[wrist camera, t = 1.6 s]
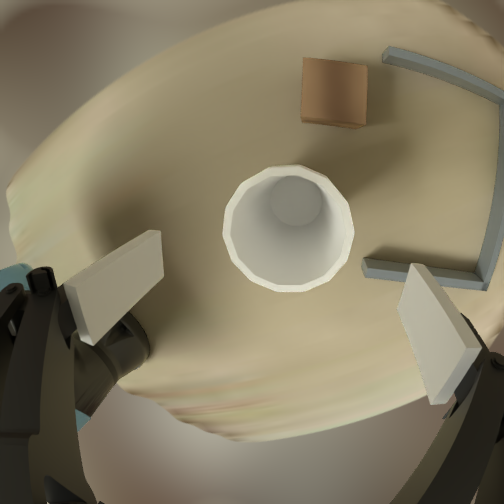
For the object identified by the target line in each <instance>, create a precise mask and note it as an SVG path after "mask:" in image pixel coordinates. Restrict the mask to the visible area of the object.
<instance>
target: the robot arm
mask: <svg viewBox="0 0 504 504" xmlns="http://www.w3.org/2000/svg"><path fill="white" fill-rule="evenodd" d="M163 277H164V268H163V256H162V243H161V231H157V230H148V231H146V232H144V233H142V234H141V235H139V236H137V237H136V238H134V239H132V240H130V241H129V242H127V243H125V244H124V245H122V246H120V247H119V248H117V249H116V250H114V251H112V252H111V253H109V254H107V255H106V256H104V257H103V258H101V259H99V260H98V261H96V262H95V263H93V264H92V265H90V266H89V267H87V268H85V269H84V270H82V271H81V272H79V273H78V274H76V275H75V276H73V277H72V278H70V279H69V280H67V281H66V282H64V283H63V284H62V285H61V286H59V287H58V288H57V284H56V280H55V276H54V272H53V269H52V268H51V267H39V268H36V269H34V270H33V268H32V267H31V266H30V265H28V264H26V263H19V264H16V265H13V266H10V267H7V268H4V269H2V270H0V504H47V502H48V503H49V504H97V501H96V498H95V496H94V494H93V491H92V490H91V488H90V486H89V484H88V483H87V481H86V479H85V476H84V472H83V467H82V461H81V456H80V449H79V441H78V433H77V432H78V431H80V429H81V428H82V427H83V426H84V425H85V424H86V423H87V422H88V421H89V420H90V419H91V416H92V415H93V414H94V412H95V411H96V409H97V408H98V407H99V405H100V404H101V403H102V401H103V400H104V399H105V397H106V396H107V394H108V393H109V392H110V390H111V389H112V388H113V386H114V385H115V384H116V382H117V381H118V380H119V379H120V378H122V377H124V376H125V375H127V374H128V373H130V372H131V371H133V370H135V369H137V368H139V367H140V366H141V365H142V364H143V363H144V362H145V360H146V359H147V357H148V355H149V351H150V348H149V342H148V339H147V336H146V334H145V332H144V331H143V329H142V327H141V326H140V324H139V323H138V322H137V321H136V319H135V318H134V317H133V316H132V315H131V314H130V313H129V312H128V311H129V310H130V309H131V308H132V307H133V306H134V305H135V304H136V303H137V302H138V301H139V300H140V299H141V298H142V297H143V296H144V295H145V294H146V293H147V292H148V291H149V290H151V289H152V288H153V287H154V286H155V285H156V284H157V283H158V282H159V281H160V280H161V279H162V278H163ZM397 311H398V313H399V316H400V318H401V321H402V323H403V326H404V328H405V331H406V333H407V336H408V339H409V341H410V344H411V347H412V349H413V352H414V355H415V358H416V361H417V363H418V366H419V369H420V372H421V375H422V379H423V382H424V385H425V388H426V391H427V395H428V398H429V402H430V405H433V404H444V403H447V401H448V400H449V399H450V397H451V396H452V395H453V393H455V396H456V399H457V400H456V401H455V403H454V404H453V405H452V407H451V408H450V409H449V411H448V412H447V413H446V414H445V416H444V417H443V419H445V418H446V419H445V421H444V423H443V425H442V427H441V429H440V430H439V432H438V434H437V436H436V438H435V440H434V441H433V443H432V444H431V446H430V448H429V449H428V451H427V453H426V454H425V456H424V458H423V459H422V461H421V462H420V464H419V465H418V467H417V468H416V469H415V471H414V472H413V474H412V475H411V477H410V478H409V480H408V481H407V482H406V484H405V485H404V486H403V487H402V489H401V490H400V491H399V493H398V494H397V495H396V496H395V498H394V499H393V500H392V501H391V502H390V504H470V503H471V501H472V499H473V497H474V495H475V493H476V491H477V489H478V487H479V489H478V493H477V496H476V500H475V504H504V356H502V355H501V354H498V353H496V352H489V350H488V348H487V347H486V345H485V343H484V342H483V340H482V339H481V337H480V335H478V332H477V331H476V329H474V326H473V325H472V323H471V322H470V320H469V319H468V318H467V317H465V316H464V315H463V314H462V313H460V312H459V311H458V309H457V308H456V306H455V305H454V304H453V302H452V301H451V299H450V298H449V297H448V295H447V294H446V293H445V291H444V290H443V288H442V287H441V286H440V285H439V283H438V282H437V281H436V279H435V278H434V277H433V275H432V274H431V273H430V272H429V270H428V269H427V268H426V267H425V265H424V264H418V263H411V265H410V268H409V272H408V275H407V279H406V282H405V285H404V289H403V292H402V295H401V298H400V301H399V304H398V307H397ZM98 504H104V503H102V502H101V501H100V502H99V503H98Z"/></svg>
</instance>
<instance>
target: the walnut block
mask: <svg viewBox="0 0 504 504" xmlns="http://www.w3.org/2000/svg"><path fill="white" fill-rule="evenodd" d="M366 112H367V66H365V65H359V64H353V63H347V62H340V61H333V60H324V59H315V58H303V78H302V100H301V119H302V122H303V123H313V124H322V125H330V126H338V127H345V128H351V129H357V128H360V127H362V126H364V125H366Z"/></svg>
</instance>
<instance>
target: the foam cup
mask: <svg viewBox="0 0 504 504" xmlns="http://www.w3.org/2000/svg"><path fill="white" fill-rule="evenodd" d="M354 234H355V232H354V227H353V222H352V217H351V213H350V208H349V204H348V202H347V201H346V199H345V198H344V197H343V195H342V194H341V193H340V192H339V190H338V189H337V188H336V187H335V186H334V184H333V183H332V182H331V181H330V180H329V178H328V177H327V176H325V175H323V174H321V173H319V172H316V171H314V170H312V169H310V168H307V167H305V166H303V165H278V166H271V167H268V168H267V169H265V170H263V171H261V172H259V173H258V174H256V175H254V176H252V177H251V178H249V179H247V180H245V181H244V182H242V183H241V184H240V185H239V187H238V188H237V190H236V192H235V193H234V195H233V196H232V198H231V199H230V201H229V202H228V204H227V206H226V207H225V215H224V224H223V234H222V235H223V238H224V241H225V244H226V247H227V249H228V252H229V255H230V258H231V261H232V262H233V263H234V264H235V265H236V266H237V267H238V268H239V269H240V270H241V271H242V272H243V273H244V275H245V276H246V277H247V278H248V279H249V280H250V281H252V282H254V283H257V284H259V285H261V286H264V287H266V288H268V289H271V290H273V291H275V292H305V291H307V290H310V289H312V288H314V287H317V286H319V285H321V284H324V283H326V282H328V281H329V280H330V279H331V278H332V277H333V276H334V275H335V274H336V273H337V272H338V270H339V269H340V268H341V267H342V266H343V265H344V264H345V263H346V261H347V260H348V256H349V253H350V249H351V245H352V242H353V238H354Z"/></svg>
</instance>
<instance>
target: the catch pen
mask: <svg viewBox="0 0 504 504" xmlns="http://www.w3.org/2000/svg"><path fill="white" fill-rule="evenodd" d="M382 58H383V63H387V64H391V65H395V66H399V67H403V68H406V69H410V70H413V71H417V72H420V73H423V74H426V75H429V76H432V77H435V78H438V79H441V80H444V81H446V82H449V83H452V84H454V85H457V86H459V87H462V88H464V89H466V90H469V91H471V92H473V93H476V94H478V95H480V96H482V97H484V98H486V99H488V100H490V101H492V102H494V103H496V104H498V105H499V113H500V129H499V152H498V164H497V173H496V181H495V189H494V195H493V201H492V206H491V212H490V217H489V221H488V226H487V230H486V234H485V238H484V242H483V246H482V249H481V253H480V256H479V260H478V263H477V266H476V269H475V272H474V273H471V272H464V271H457V270H450V269H443V268H436V267H428V266H425V267H426V268H427V269H428V270H429V272H430V273H431V274H432V275H433V277H434V278H435V279H436V281H437V282H438V283H439V285H440V286H444V287H453V288H462V289H472V290H482V291H487V288H488V286H489V283H490V280H491V277H492V274H493V272H494V269H495V265H496V262H497V259H498V256H499V252H500V249H501V245H502V241H503V238H504V91H503V90H501V89H499V88H497V87H496V86H494V85H492V84H490V83H488V82H486V81H484V80H482V79H480V78H478V77H476V76H473V75H471V74H469V73H467V72H465V71H462V70H460V69H458V68H455V67H453V66H450V65H448V64H445V63H442V62H440V61H437V60H434V59H431V58H428V57H426V56H422V55H419V54H416V53H413V52H409V51H406V50H402V49H399V48H395V47H391V46H388V47H387V49H386V50H385V51H384V53H383V54H382ZM410 265H411V264H406V263H399V262H391V261H384V260H376V259H368V258H363V261H362V266H361V267H362V270H363V273H364V275H365V278H374V279H382V280H391V281H399V282H406V279H407V275H408V272H409V268H410Z"/></svg>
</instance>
